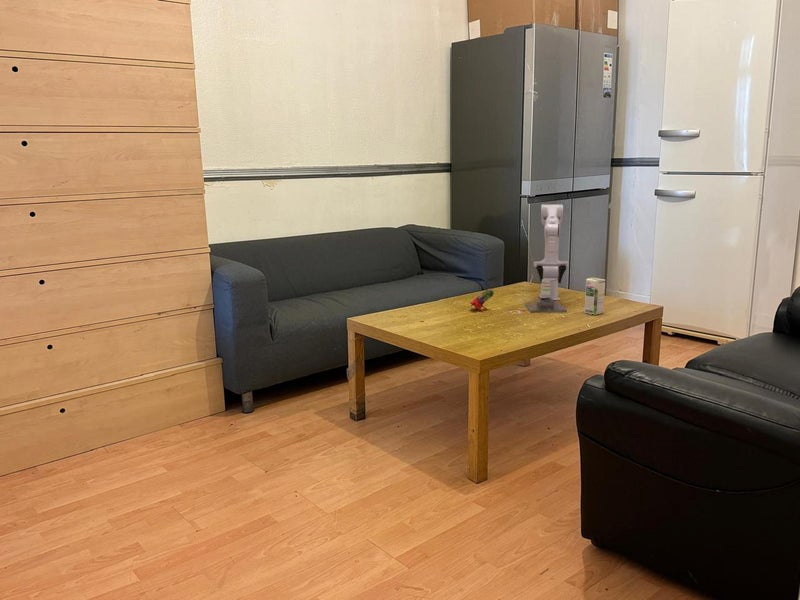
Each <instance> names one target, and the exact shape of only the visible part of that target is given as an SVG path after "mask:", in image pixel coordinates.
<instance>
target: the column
mask: <svg viewBox="0 0 800 600" xmlns="http://www.w3.org/2000/svg"><path fill="white" fill-rule="evenodd" d="M550 287H551V286H550V279H542V288H541V287H540V294H541V293H542V294H543V295H550ZM541 289H542V291H541Z"/></svg>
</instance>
